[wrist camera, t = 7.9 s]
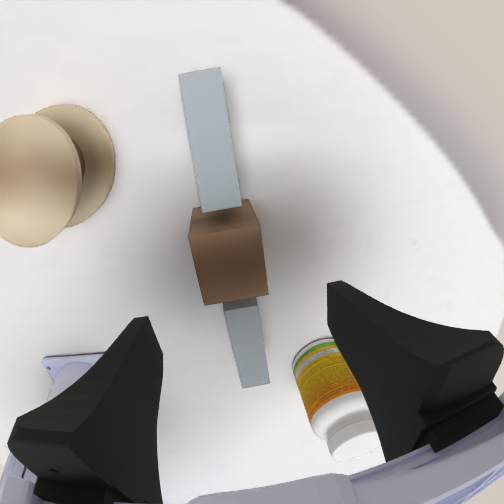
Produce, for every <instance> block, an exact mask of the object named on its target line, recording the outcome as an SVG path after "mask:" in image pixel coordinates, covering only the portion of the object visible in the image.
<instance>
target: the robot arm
mask: <svg viewBox="0 0 504 504" xmlns="http://www.w3.org/2000/svg"><path fill="white" fill-rule="evenodd" d="M327 324H328V326H329V329H330V332H331V334H332V337H333V339H334V342H335V344H336V346H337V347H338V349H339V351H340V353H341V355H342V356H343V358H344V360H345V362H346V363H347V365H348V367H349V369H350V370H351V372H352V374H353V376H354V378H355V379H356V381H357V383H358V385H359V387H360V389H361V391H362V394H363V396H364V398H365V401H366V403H367V406H368V408H369V411H370V414H371V417H372V419H373V422H374V425H375V428H376V431H377V434H378V437H379V440H380V443H381V446H382V450H383V453H384V457H385V461H386V463H383V464H381V465H378V466H375V467H373V468H370V469H367V470H364V471H361V472H358V473H355V474H352V475H349V476H347V475H344V474H333V473H330V474H325V475H319V476H313V477H309V478H304V479H300V480H296V481H291V482H286V483H281V484H276V485H271V486H265V487H259V488H253V489H246V490H239V491H230V492H221V493H214V494H208V495H203V496H199V497H197V498H195V499H193V500H191V501H189V502H188V503H187V504H463V503H464V502H466V501H467V500H469V499H470V498H472V497H473V496H475V495H476V494H478V493H479V492H481V491H482V490H483V489H485V488H486V487H488V486H489V485H491V484H492V483H493V482H494V481H496V480H497V479H499V478H500V477H501V476H503V475H504V392H503V393H502V394H501V395H500V396H499V398H498V397H497V396H496V394H495V393H494V392H495V391H496V389H497V388H496V386H495V385H494V383H493V382H492V381H493V379H494V376H495V374H496V372H497V370H498V368H499V366H500V364H501V361H502V358H503V354H504V348H503V345H502V344H501V343H500V342H499V341H498V340H497V339H496V338H495V337H494V336H493V335H492V334H491V333H490V332H489V331H482V330H469V329H461V328H455V327H449V326H444V325H440V324H436V323H432V322H428V321H425V320H422V319H419V318H416V317H413V316H410V315H408V314H405V313H403V312H400V311H398V310H396V309H394V308H392V307H389V306H387V305H385V304H383V303H381V302H379V301H377V300H376V299H374V298H372V297H370V296H368V295H367V294H365V293H363V292H361V291H360V290H358V289H356V288H354V287H353V286H351V285H349V284H347V283H345V282H344V281H342V280H340V281H336V282H331V283H327ZM42 364H43V366H44V367H45V369H46V370H47V372H48V373H49V375H50V376H51V378H52V379H53V381H54V384H53V386H52V389H51V391H50V394H49V396H48V399H47V401H46V403H45V404H43V405H41V406H40V407H38V408H36V409H34V410H32V411H30V412H28V413H26V414H24V415H22V416H20V417H17V419H16V422H15V424H14V427H13V429H12V432H11V435H10V437H9V440H8V443H7V444H8V448H9V450H10V453H9V456H8V459H7V461H6V464H5V467H4V470H3V474H2V477H1V480H0V504H163V502H162V496H161V489H160V481H159V471H158V457H157V417H158V409H159V401H160V394H161V386H162V379H163V353H162V350H161V348H160V345H159V343H158V340H157V338H156V335H155V333H154V330H153V328H152V325H151V323H150V320H149V317H148V316H145V317H139V318H134V319H133V320H132V321H131V322H130V323H129V324H128V326H127V327H126V328H125V329H124V330H123V332H122V333H121V334H120V335H119V337H118V338H117V339H116V340H115V341H114V342H113V344H112V345H111V346H110V347H109V348H108V350H107V351H106V352H105V353H104V354H93V355H80V356H66V357H50V358H43V360H42Z"/></svg>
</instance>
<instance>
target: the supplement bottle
mask: <svg viewBox="0 0 504 504" xmlns="http://www.w3.org/2000/svg"><path fill="white" fill-rule="evenodd" d="M293 373H294V376H295V379H296V382H297V385H298V388H299V391H300V394H301V397H302V400H303V403H304V406H305V409H306V412H307V415H308V419H309V422H310V425H311V427H312V430H313V432H314V434H315V435H316V436H317V437H318V438H320V439H322V440H325V441H327V445H328V449H329V451H330V454H331V456H332V458H333V459H334V460H336V461H350V460H354V459H357V458H360V457H362V456H364V455H366V454H368V453H370V452H372V451H373V450H375V449H376V448H377V447H378V446H379V445H380V444H381V443H380V440H379V437H378V434H377V431H376V428H375V425H374V422H373V419H372V417H371V414H370V411H369V408H368V406H367V403H366V401H365V398H364V396H363V394H362V391H361V389H360V387H359V385H358V383H357V381H356V379H355V378H354V376H353V374H352V372H351V370H350V369H349V367H348V365H347V363H346V362H345V360H344V358H343V356H342V355H341V353H340V351H339V349H338V347H337V346H336V344H335V342H334V339H323V340H319V341H316V342H313V343H311V344H309V345H308V346H306V347H305V348H304V349H303V350H302V351H301V352H300V353H299V354H298V355H297V357H296V358H295V360H294V363H293Z"/></svg>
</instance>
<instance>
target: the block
mask: <svg viewBox="0 0 504 504" xmlns="http://www.w3.org/2000/svg"><path fill="white" fill-rule="evenodd" d="M241 202H242V206H238V207H232V208H227V209H221V210H216V211H210V212H205V213H202V208H201V207H198V208H193V212H192V217H191V223H190V229H189V235H188V238H189V243H190V247H191V252H192V256H193V260H194V265H195V269H196V273H197V278H198V282H199V286H200V290H201V294H202V298H203V302H204V306H205V305H211V304H217V303H223V302H229V301H235V300H241V299H247V298H252V297H258V296H263V295H269V294H268V285H267V277H266V269H265V261H264V253H263V245H262V237H261V229H260V224H259V222H258V219H257V217H256V215H255V213H254V211H253V209H252V206H251V204H250V202H249V200H248V199H245V200H241Z"/></svg>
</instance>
